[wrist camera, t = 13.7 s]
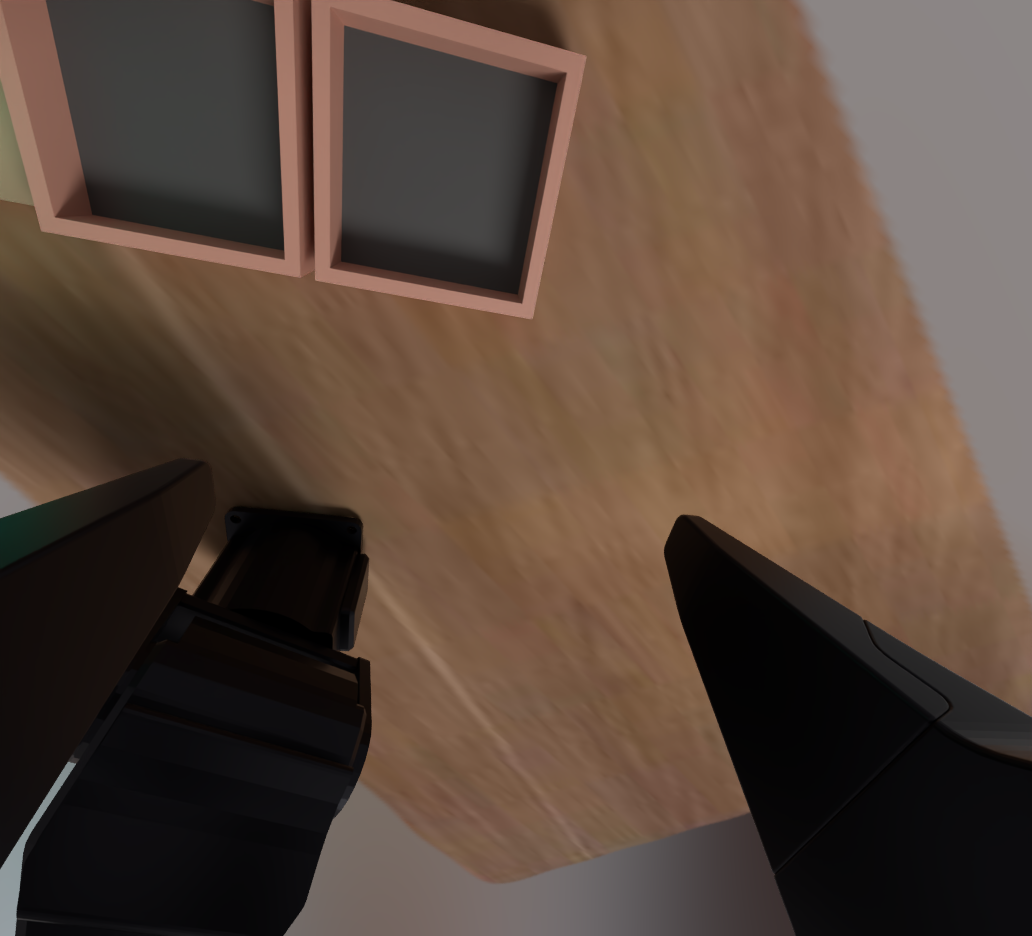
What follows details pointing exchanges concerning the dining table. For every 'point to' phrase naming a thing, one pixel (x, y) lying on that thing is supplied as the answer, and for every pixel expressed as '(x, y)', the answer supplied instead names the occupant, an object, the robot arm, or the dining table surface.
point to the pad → (11, 160)
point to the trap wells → (297, 138)
